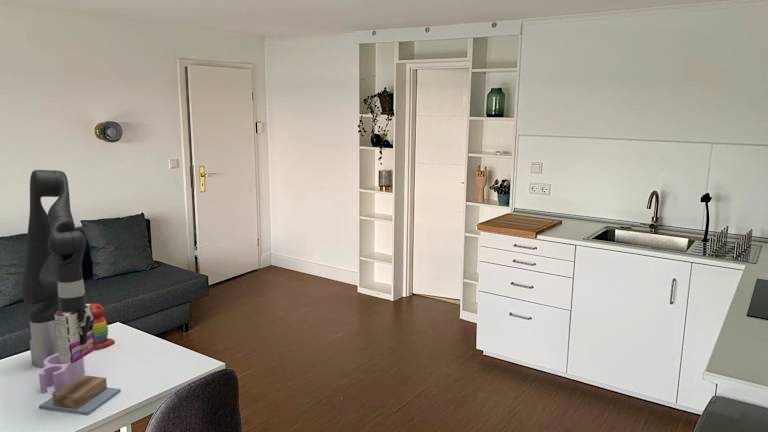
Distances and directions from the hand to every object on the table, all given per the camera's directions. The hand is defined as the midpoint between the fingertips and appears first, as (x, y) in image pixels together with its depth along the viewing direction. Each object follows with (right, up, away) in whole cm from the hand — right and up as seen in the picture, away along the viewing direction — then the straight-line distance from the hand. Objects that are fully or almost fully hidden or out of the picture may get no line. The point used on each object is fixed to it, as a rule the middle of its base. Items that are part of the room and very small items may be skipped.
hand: (76, 343), depth 192 cm
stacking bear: (-16, -11, +47) cm, 51 cm away
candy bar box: (0, -5, +1) cm, 5 cm away
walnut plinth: (0, -18, +3) cm, 19 cm away
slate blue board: (0, -19, +4) cm, 20 cm away
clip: (-14, -17, +18) cm, 28 cm away
